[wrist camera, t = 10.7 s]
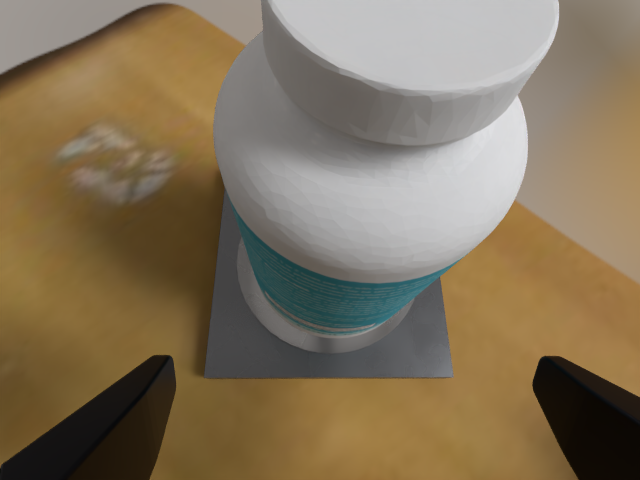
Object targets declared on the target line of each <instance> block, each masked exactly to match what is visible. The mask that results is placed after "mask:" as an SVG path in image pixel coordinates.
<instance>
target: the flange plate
mask: <svg viewBox="0 0 640 480" xmlns="http://www.w3.org/2000/svg"><path fill="white" fill-rule="evenodd" d="M452 377H453V369H452V362H451V355H450V347H449V340H448V332H447V325H446V318H445V310H444V303H443V296H442V288H441V281H440V277H439V278H437V279H436V280H435V281H434V282H433V283H431V284H430V285H429V286H428V287H426V288H425V289H424V290H423V291H422V292H421V293H419V294H418V295H417V296H416V297H415V298H413V299H412V300H411V301H410V302H409V303H407V304H406V305H405V306H404V307H403V308H401V309H400V310H399V311H398V312H397V313H395V314H394V315H393V316H392V317H391V318H389V319H388V320H387V321H385V322H384V323H383V324H381V325H380V326H378V327H377V328H375V329H373V330H371V331H369V332H367V333H364V334H361V335H358V336H354V337H348V338H324V337H318V336H314V335H311V334H308V333H305V332H303V331H300V330H298V329H296V328H295V327H293V326H291V325H290V324H288V323H287V322H285V321H284V320H283V319H282V318H281V317H280V316H278V315H277V314H276V313H275V312H274V311H273V309H272V308H271V307H270V306H269V304H268V303H267V301H266V300H265V298H264V296H263V295H262V293H261V290H260V288H259V285H258V283H257V280H256V278H255V275H254V272H253V269H252V266H251V263H250V260H249V257H248V254H247V251H246V248H245V245H244V242H243V238H242V236H241V233H240V230H239V227H238V224H237V221H236V218H235V215H234V212H233V209H232V206H231V203H230V200H229V198H228V195H227V192H226V189H225V191H224V200H223V209H222V218H221V227H220V237H219V246H218V255H217V264H216V273H215V282H214V291H213V300H212V309H211V318H210V327H209V336H208V345H207V354H206V363H205V373H204V378H208V379H319V378H452Z"/></svg>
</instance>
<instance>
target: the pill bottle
mask: <svg viewBox="0 0 640 480" xmlns="http://www.w3.org/2000/svg"><path fill="white" fill-rule="evenodd" d="M261 5H262V20H263V31H262V32H260V33H259V34H258V35H257V36H256V37H255V38H254V39H253V40H252V41H251V42H250V43H249V44H248V45H247V46H246V47H245V48H244V49H243V50H242V51H241V53H240V54H239V55H238V57H237V58H236V59H235V61H234V62H233V64H232V66H231V67H230V69H229V71H228V73H227V75H226V77H225V79H224V81H223V83H222V86H221V89H220V92H219V95H218V98H217V103H216V107H215V115H214V124H213V136H214V148H215V154H216V159H217V162H218V166H219V169H220V172H221V176H222V179H223V182H224V186H225V189H226V192H227V195H228V198H229V200H230V203H231V206H232V209H233V212H234V215H235V218H236V221H237V224H238V227H239V230H240V233H241V236H242V238H243V242H244V245H245V248H246V251H247V254H248V257H249V260H250V263H251V266H252V269H253V272H254V275H255V278H256V280H257V283H258V285H259V288H260V290H261V293H262V295H263V296H264V298H265V300H266V301H267V303H268V304H269V306H270V307H271V308H272V309H273V311H274V312H275V313H276V314H277V315H278V316H280V317H281V318H282V319H283V320H284V321H285V322H287V323H288V324H290V325H291V326H293V327H295V328H296V329H298V330H300V331H303V332H305V333H308V334H311V335H314V336H318V337H324V338H348V337H354V336H358V335H361V334H364V333H367V332H369V331H371V330H373V329H375V328H377V327H378V326H380V325H381V324H383V323H384V322H385V321H387V320H388V319H389V318H391V317H392V316H393V315H394V314H395V313H397V312H398V311H399V310H400V309H401V308H403V307H404V306H405V305H406V304H407V303H409V302H410V301H411V300H412V299H413V298H415V297H416V296H417V295H418V294H419V293H421V292H422V291H423V290H424V289H425V288H426V287H428V286H429V285H430V284H431V283H433V282H434V281H435V280H436V279H437V278H439V277H440V276H441V275H442V274H444V273H445V272H446V271H447V270H448V269H450V268H451V267H452V266H453V265H455V264H456V263H457V262H458V261H459V260H461V259H462V258H463V257H464V256H466V255H467V254H468V253H469V252H470V251H471V250H473V249H474V248H475V247H476V246H477V245H478V244H479V243H480V242H482V241H483V240H484V239H485V238H486V237H487V236H488V235H489V234H490V233H491V232H492V231H493V230H494V229H495V228H496V226H497V225H498V224H499V223H500V221H501V220H502V219H503V218H504V216H505V215H506V213H507V212H508V210H509V208H510V207H511V205H512V203H513V201H514V200H515V198H516V195H517V193H518V191H519V188H520V185H521V182H522V179H523V177H524V172H525V168H526V163H527V151H528V137H527V136H528V135H527V126H526V120H525V115H524V112H523V108H522V105H521V103H520V100H519V98H518V94H519V92H520V91H521V89H522V87H523V86H524V84H525V83H526V82H527V80H528V79H529V77H530V76H531V75H532V73H533V72H534V70H535V69H536V68H537V66H538V65H539V63H540V62H541V61H542V59H543V58H544V57H545V55H546V53H547V51H548V50H549V48H550V46H551V44H552V42H553V40H554V37H555V33H556V30H557V26H558V20H559V3H558V0H261Z"/></svg>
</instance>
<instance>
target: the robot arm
mask: <svg viewBox="0 0 640 480" xmlns="http://www.w3.org/2000/svg"><path fill="white" fill-rule="evenodd" d="M532 386H533V391H534V393H535V396H536V398H537V400H538V402H539V404H540V406H541V408H542V410H543V412H544V414H545V417H546V419H547V421H548V423H549V425H550V427H551V429H552V431H553V433H554V435H555V438H556V440H557V442H558V444H559V446H560V448H561V450H562V452H563V453H564V455H565V457H566V459H567V461H568V462H569V464H570V466H571V467H572V469H573V471H574V473H575V474H576V476H577V478H578V479H579V480H640V397H638V396H636V395H634V394H632V393H630V392H628V391H626V390H625V389H623V388H621V387H619V386H617V385H615V384H613V383H611V382H609V381H607V380H605V379H603V378H601V377H599V376H597V375H595V374H594V373H592V372H590V371H588V370H586V369H584V368H582V367H580V366H578V365H576V364H574V363H572V362H570V361H568V360H566V359H564V358H562V357H560V356H543V357H542V358H541V359H540V360H539V363H538V366H537V369H536V372H535V376H534V379H533V385H532ZM175 391H176V378H175V370H174V363H173V359H172V357H171V356H170V355H154V356H152V357H150V358H149V359H147V360H146V361H145V362H143V363H142V364H140V365H139V366H138V367H136V368H135V369H134V370H132V371H131V372H129V373H128V374H127V375H125V376H124V377H122V378H121V379H120V380H118V381H117V382H115V383H114V384H113V385H111V386H110V387H109V388H107V389H106V390H104V391H103V392H102V393H100V394H99V395H97V396H96V397H95V398H93V399H92V400H91V401H89V402H88V403H86V404H85V405H84V406H82V407H81V408H79V409H78V410H77V411H75V412H74V413H72V414H71V415H70V416H68V417H67V418H66V419H64V420H63V421H61V422H60V423H59V424H57V425H56V426H54V427H53V428H52V429H50V430H49V431H48V432H46V433H45V434H43V435H42V436H41V437H39V438H38V439H36V440H35V441H34V442H32V443H31V444H30V445H28V446H27V447H25V448H24V449H23V450H21V451H20V452H18V453H17V454H16V455H14V456H13V457H11V458H10V459H9V460H7V461H6V462H5V463H3V464H2V465H1V469H0V480H149V479H150V476H151V474H152V471H153V469H154V466H155V463H156V460H157V457H158V454H159V450H160V447H161V443H162V440H163V436H164V432H165V429H166V425H167V421H168V418H169V414H170V410H171V407H172V403H173V399H174V396H175Z"/></svg>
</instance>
